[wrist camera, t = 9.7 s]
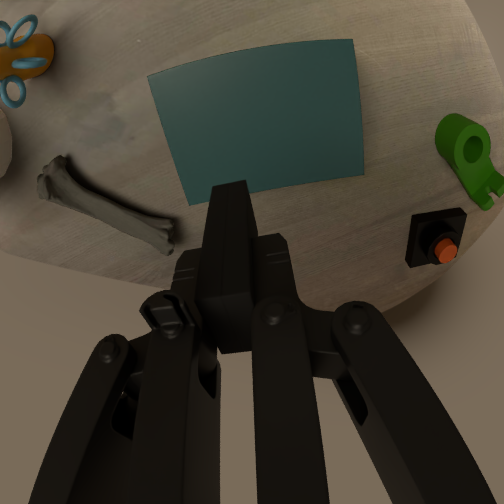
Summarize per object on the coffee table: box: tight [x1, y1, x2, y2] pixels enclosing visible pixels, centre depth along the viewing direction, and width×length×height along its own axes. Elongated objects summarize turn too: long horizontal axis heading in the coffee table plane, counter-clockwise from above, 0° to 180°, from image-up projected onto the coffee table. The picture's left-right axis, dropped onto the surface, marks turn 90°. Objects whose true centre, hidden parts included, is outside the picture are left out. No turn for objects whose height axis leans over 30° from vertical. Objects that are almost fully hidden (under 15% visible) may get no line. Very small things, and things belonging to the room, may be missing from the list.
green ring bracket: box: [435, 113, 504, 211], centre depth 31 cm, size 15×7×5 cm, turn 54°
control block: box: [405, 207, 467, 268], centre depth 40 cm, size 10×9×4 cm
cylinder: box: [0, 14, 54, 108], centre depth 16 cm, size 12×10×15 cm
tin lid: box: [147, 39, 364, 206], centre depth 22 cm, size 16×13×1 cm
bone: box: [37, 155, 175, 256], centre depth 34 cm, size 22×6×6 cm, turn 55°
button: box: [434, 238, 457, 263], centre depth 38 cm, size 4×4×2 cm
